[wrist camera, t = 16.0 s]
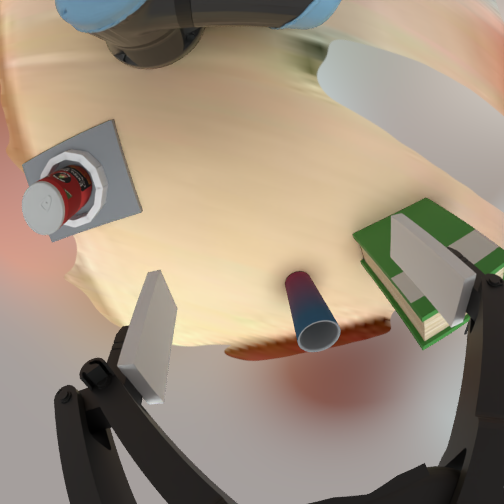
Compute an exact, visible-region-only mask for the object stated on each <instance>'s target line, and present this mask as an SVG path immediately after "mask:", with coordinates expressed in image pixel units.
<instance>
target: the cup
mask: <svg viewBox="0 0 504 504" xmlns="http://www.w3.org/2000/svg"><path fill="white" fill-rule="evenodd" d="M285 286H286V291H287V295H288V300H289V304H290V309H291V314H292V318H293V323H294V327H295V332H296V337H297V342H298V345H299V347H300V348H301V349H303V350H305V351H308V352H318V351H322V350H325V349H327V348H329V347H330V346H332V345H333V344H334V343H335V342H336V341H337V340H338V338H339V336H340V327H339V325H338V323H337V322H336V320H335V318H334V317H333V315H332V313H331V311H330V310H329V308H328V306H327V305H326V303H325V301H324V300H323V298H322V296H321V295H320V293H319V291H318V290H317V288H316V286H315V285H314V283H313V281H312V280H311V278H310V276H309V275H308V274H307V273H305V272H302V271H298V272H294V273H292V274H291V275H289V276H288V278H287V279H286V282H285Z"/></svg>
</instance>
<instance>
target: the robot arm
mask: <svg viewBox="0 0 504 504" xmlns="http://www.w3.org/2000/svg"><path fill="white" fill-rule="evenodd" d="M340 2H341V0H55V5H56V8H57V11H58V13H59V15H60V16H61V17H62V18H63V19H64V20H65V21H66V22H68V23H70V24H71V25H72V26H73V27H74V28H75V29H76V30H78V31H80V32H85V33H89V34H91V35H94V36H96V37H98V38H100V39H103V40H105V41H106V43H107V46H108V48H109V50H110V52H111V53H112V54H113V55H114V56H115V57H116V58H117V59H118V60H119V61H121V62H123V63H125V64H127V65H130V66H132V67H136V68H141V69H154V68H160V67H164V66H167V65H170V64H172V63H174V62H176V61H178V60H180V59H181V58H183V57H184V56H185V55H187V54H188V53H189V52H190V51H191V50H192V49H193V48H194V47H195V46H196V44H197V43H198V42H199V40H200V38H201V36H202V34H203V31H204V28H205V27H209V26H257V27H269V28H271V29H284V28H291V29H310V28H314V27H317V26H319V25H321V24H323V23H324V22H325V21H326V20H328V19H329V18H330V16H331V15H332V14H333V13H334V11H335V10H336V9H337V7H338V5H339V4H340ZM390 257H391V258H392V259H393V260H394V262H395V263H396V264H397V265H398V266H399V267H400V268H401V269H402V270H403V271H404V272H405V274H406V275H407V276H408V277H409V278H410V279H411V280H412V281H413V282H414V284H415V285H416V286H417V287H418V288H419V289H420V290H421V292H422V293H423V294H424V295H425V296H426V297H427V299H428V300H429V301H430V302H431V303H432V305H433V306H434V307H435V308H436V309H437V311H438V312H439V313H440V314H441V315H442V317H443V318H444V319H445V320H446V322H447V323H448V324H449V325H450V327H451V328H452V327H454V326H456V325H458V324H460V323H462V322H463V320H464V317H465V314H466V313H467V314H468V315H469V316H470V319H469V322H468V325H467V327H466V330H465V333H464V334H467V331H468V335H467V347H466V357H465V365H464V373H463V380H462V385H461V391H460V397H459V402H458V407H457V411H456V416H455V420H454V424H453V429H452V433H451V436H450V440H449V444H448V447H447V449H446V451H445V453H444V455H443V457H442V459H441V461H440V463H439V465H438V466H434V467H426V465H425V463H424V464H422V465H420V466H418V467H416V468H414V469H411V470H409V471H407V472H405V473H402V474H400V475H398V476H396V477H395V478H393V479H392V480H390V481H389V482H387V483H386V484H384V485H383V486H381V487H380V488H378V489H377V490H375V491H373V492H372V493H370V494H367V495H359V496H349V497H335V498H330V499H326V500H322V501H318V502H313V503H309V504H504V280H503V279H502V278H501V277H500V276H498V275H496V274H489V273H488V274H484V273H483V272H482V271H481V270H479V269H478V268H477V267H476V266H475V265H474V264H473V263H471V262H470V261H468V259H467V258H466V257H464V256H463V255H462V254H461V253H460V252H458V251H457V250H455V249H453V248H451V247H445V246H444V245H442V244H441V243H440V242H439V241H437V240H436V239H435V238H434V237H432V236H431V235H430V234H429V233H427V232H426V231H425V230H424V229H422V228H421V227H420V226H418V225H417V224H416V223H414V222H413V221H412V220H410V219H409V218H408V217H406V216H405V215H404V214H402V213H400V214H396V215H391V249H390ZM176 314H177V306H176V304H175V302H174V300H173V297H172V295H171V293H170V291H169V288H168V286H167V284H166V282H165V279H164V277H163V275H162V272H161V270H157V271H152V272H148V274H147V276H146V279H145V282H144V284H143V287H142V290H141V293H140V296H139V298H138V301H137V304H136V307H135V310H134V313H133V316H132V319H131V322H130V325H129V326H123V327H122V328H121V329H120V330H119V332H118V333H117V334H116V337H115V340H114V344H113V346H112V350H111V352H110V355H109V358H108V361H107V363H106V362H105V361H104V360H103V359H102V358H94V359H91V360H89V361H88V362H87V363H85V364H84V366H83V367H82V368H81V371H80V379H81V380H82V381H83V382H84V383H85V385H86V386H88V388H86V389H83V390H80V391H78V390H76V388H75V387H73V386H71V385H67V386H64V387H62V388H61V389H60V390H59V391H58V392H57V393H56V395H55V399H54V407H55V419H56V429H57V438H58V446H59V452H60V459H61V464H62V470H63V474H64V480H65V484H66V489H67V493H68V497H69V501H70V504H137V503H136V501H135V498H134V496H133V494H132V491H131V489H130V486H129V484H128V481H127V478H126V476H125V473H124V470H123V467H122V465H121V462H120V459H119V456H118V453H117V449H116V446H115V443H114V440H113V436H112V433H111V429H110V428H111V427H112V428H113V430H114V431H115V433H116V434H117V436H118V438H119V439H120V441H121V442H122V444H123V445H124V447H125V448H126V450H127V451H128V453H129V454H130V455H131V457H132V458H133V460H134V461H135V462H136V464H137V465H138V467H139V468H140V469H141V471H143V473H144V474H145V476H146V477H147V478H148V480H149V481H150V482H151V484H152V485H153V486H154V487H155V488H156V490H157V491H158V492H159V493H160V494H161V496H162V497H163V498H164V499H165V500H166V502H167V503H168V504H237V503H236V502H235V501H234V500H233V499H232V498H230V497H229V496H228V495H227V494H225V492H223V491H222V490H221V489H220V488H219V487H218V486H216V484H214V483H213V482H212V481H211V480H210V479H209V478H208V477H207V476H206V475H205V474H204V473H202V471H201V470H199V469H198V467H196V466H195V465H194V464H193V463H192V461H190V460H189V459H188V457H186V455H185V454H184V453H183V452H182V451H181V450H180V449H179V448H178V447H177V446H176V445H175V444H174V443H173V441H172V440H171V439H170V438H169V437H168V436H167V435H166V434H165V433H164V431H163V430H162V429H161V428H160V427H159V426H158V424H157V423H156V422H155V421H154V420H153V418H152V417H151V416H150V415H149V414H148V412H147V411H146V410H145V409H144V407H143V406H142V405H141V403H142V397H143V399H144V400H145V401H146V402H147V403H148V404H160V403H164V398H165V391H166V383H167V375H168V367H169V359H170V352H171V346H172V339H173V333H174V326H175V320H176Z"/></svg>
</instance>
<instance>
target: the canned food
mask: <svg viewBox="0 0 504 504" xmlns="http://www.w3.org/2000/svg"><path fill="white" fill-rule="evenodd" d="M91 191H92V182H91V179H90V176H89V174H88V173H87V172H86V170H84V169H83V168H82V167H80V166H76V165H69V166H66V167H64V168H62V169H60V170H58V171H56V172H54V173H52V174H50V175H48V176H46V177H44V178H42V179H40V180H38V181H37V182H35V183H33V184H32V185H31V186H30V187H29V188H28V189H27V190H26V192H25V193H24V196H23V200H22V212H23V215H24V218H25V221H26V223H27V224H28V226H29V227H30V228H31V229H32V230H33V231H34V232H36V233H38V234H41V235H50V234H52V233H54V232H55V231H57V230H58V229H59V228H60V227H61V226H62V225H64V224H65V223H66V222H67V221H68V220H69V219H70V218H71V217H72V216H73V215H74V214H75V213H77V212H78V211H79V210H80V209H81V208H82V207H83V206H84V205H85V204H86V203H87V202H88V200H89V198H90V195H91Z"/></svg>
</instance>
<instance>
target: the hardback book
mask: <svg viewBox="0 0 504 504" xmlns="http://www.w3.org/2000/svg"><path fill="white" fill-rule="evenodd" d="M400 213H402V214H404V215H405V216H406V217H408V218H409V219H410V220H412V221H413V222H414V223H416V224H417V225H418V226H420V227H421V228H422V229H424V230H425V231H426V232H427V233H429V234H430V235H431V236H432V237H434V238H435V239H436V240H437V241H439V242H440V243H441V244H442V245H444V246H445V247H451V248H453V249H455V250H457V251H458V252H460V253H461V254H462V255H463V256H464V257H466V258H467V259H468V261H470V262H471V263H473V264H474V265H475V266H476V267H477V268H478V269H479V270H481V271H482V272H483V273H484V274H488V273H489V274H496V275H498V276H500V277H501V278H502V279H503V280H504V250H503V249H502V248H501V247H499V246H498V245H497V244H495V243H494V242H493V241H491V240H490V239H489V238H487V237H486V236H484V235H483V234H482V233H480V232H479V231H477V230H476V229H474V228H473V227H472V226H470V225H469V224H467V223H466V222H464V221H463V220H461V219H460V218H458V217H457V216H455V215H454V214H452V213H450V212H449V211H447V210H446V209H444V208H443V207H441V206H439V205H438V204H436V203H434V202H433V201H431V200H430V199H428V198H424V199H422V200H420V201H418V202H416V203H414V204H412V205H410V206H408V207H406V208H404V209H402V210H400V211H398V212H396V213H394V214H392V215H396V214H400ZM353 237H354V239H355V240H356V241H357V242H358V243H359V244H360V246H361V249H362V252H363V256H364V259H363V260H361V264H362V266H363V267H364V268H365V269H366V271H367V272H368V273H369V275H370V276H371V277H372V279H373V280H374V281H375V283H376V284H377V285H378V287H379V288H380V289H381V291H382V292H383V293H384V295H385V296H386V298H387V299H388V300H389V302H390V303H391V305H392V306H393V307H394V309H395V310H396V312H397V313H398V314H399V316H400V317H401V319H402V320H403V322H404V323H405V324H406V326H407V327H408V329H409V330H410V332H411V333H412V335H413V336H414V338H415V339H416V341H417V342H418V344H419V345H420V347H421V348H422V350H424V349H426V348H428V347H429V346H431V345H433V344H434V343H436V342H437V341H439V340H441V339H442V338H444V337H445V336H447V335H449V334H450V333H452V332H453V331H455V330H456V329H458V328H459V327H461V326H462V325H464V324H465V323H466V322H468V321H469V319H470V316H469V315H468V314H467V313H466V314H465V317H464V320H463V322H462V323H460V324H458V325H456V326H454V327H452V328H451V327H450V325H449V324H448V323H447V322H446V320H445V319H444V318H443V317H442V315H441V314H440V313H439V312H438V311H437V309H436V308H435V307H434V306H433V305H432V303H431V302H430V301H429V300H428V299H427V297H426V296H425V295H424V294H423V293H422V292H421V290H420V289H419V288H418V287H417V286H416V285H415V284H414V282H413V281H412V280H411V279H410V278H409V277H408V276H407V275H406V274H405V272H404V271H403V270H402V269H401V268H400V267H399V266H398V265H397V264H396V263H395V262H394V260H393V259H392V258H391V257H390V249H391V215H390V216H388V217H386V218H384V219H382V220H380V221H378V222H376V223H374V224H372V225H370V226H368V227H366V228H364V229H362V230H360V231H358V232H355V233H353Z"/></svg>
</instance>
